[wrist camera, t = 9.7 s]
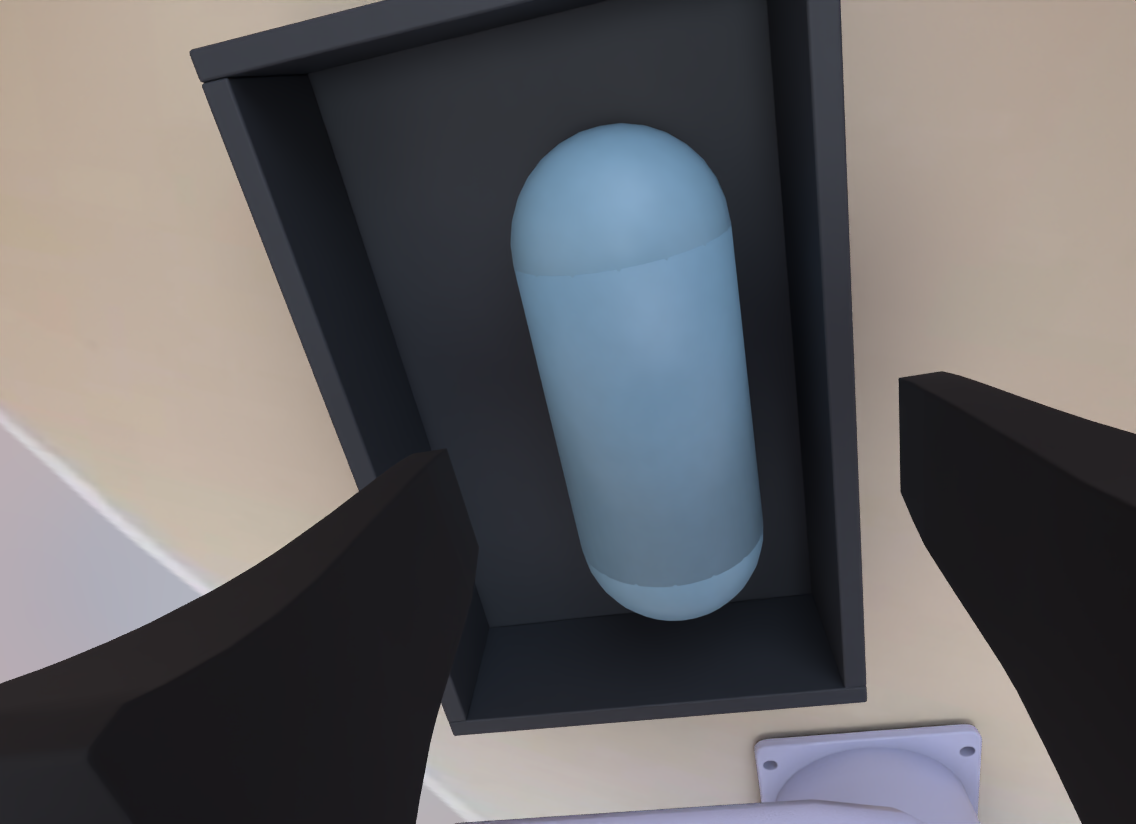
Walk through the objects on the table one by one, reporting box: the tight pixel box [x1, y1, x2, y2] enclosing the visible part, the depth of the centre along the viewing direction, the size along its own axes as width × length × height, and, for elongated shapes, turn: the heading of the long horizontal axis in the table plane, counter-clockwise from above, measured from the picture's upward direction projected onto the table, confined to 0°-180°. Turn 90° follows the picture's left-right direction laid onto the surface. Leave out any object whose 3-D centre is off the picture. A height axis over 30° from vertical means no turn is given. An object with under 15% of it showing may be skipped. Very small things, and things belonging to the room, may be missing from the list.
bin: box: [190, 0, 867, 736], centre depth 19 cm, size 19×12×4 cm, turn 12°
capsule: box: [510, 123, 763, 621], centre depth 18 cm, size 13×5×5 cm
